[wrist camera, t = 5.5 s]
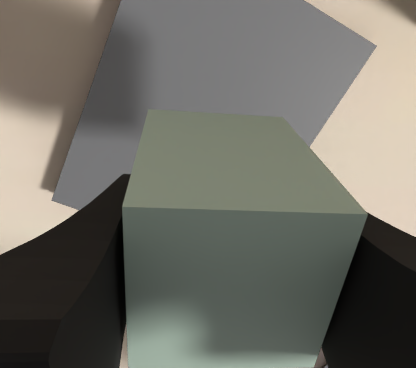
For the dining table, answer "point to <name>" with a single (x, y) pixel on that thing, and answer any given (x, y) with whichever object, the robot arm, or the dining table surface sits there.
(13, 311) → the robot arm
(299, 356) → the sage block
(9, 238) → the dining table surface
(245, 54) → the slate board
